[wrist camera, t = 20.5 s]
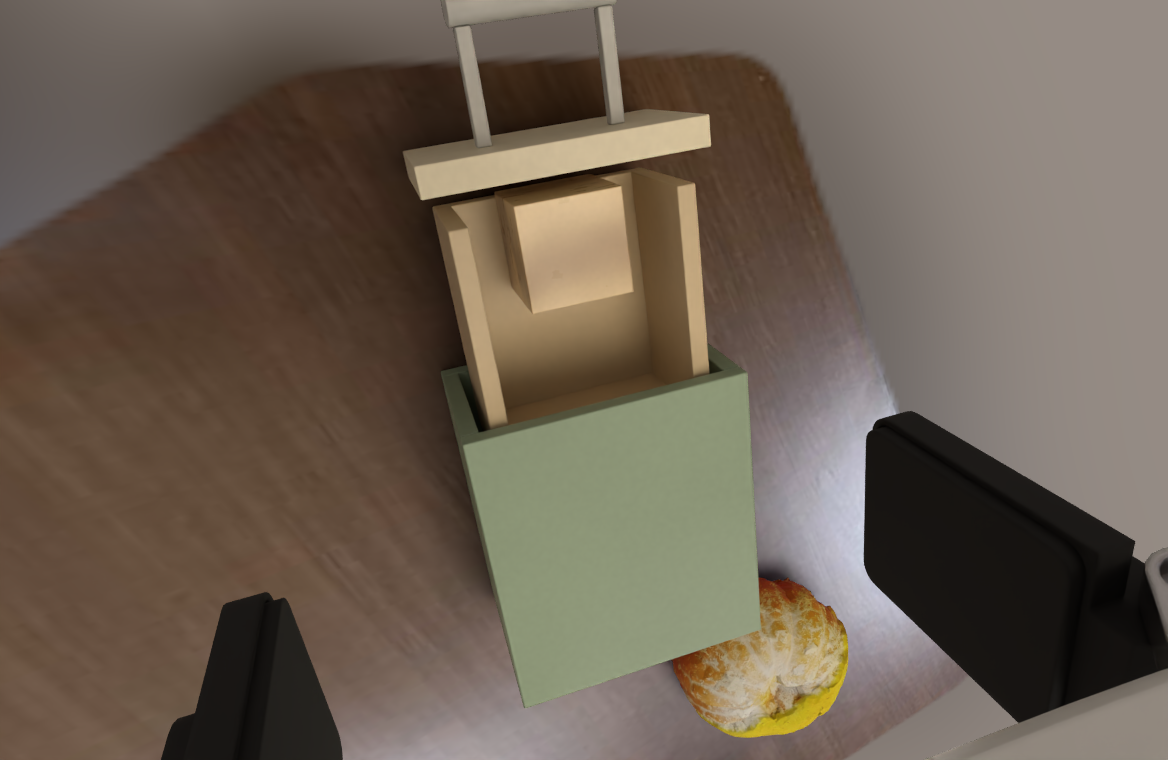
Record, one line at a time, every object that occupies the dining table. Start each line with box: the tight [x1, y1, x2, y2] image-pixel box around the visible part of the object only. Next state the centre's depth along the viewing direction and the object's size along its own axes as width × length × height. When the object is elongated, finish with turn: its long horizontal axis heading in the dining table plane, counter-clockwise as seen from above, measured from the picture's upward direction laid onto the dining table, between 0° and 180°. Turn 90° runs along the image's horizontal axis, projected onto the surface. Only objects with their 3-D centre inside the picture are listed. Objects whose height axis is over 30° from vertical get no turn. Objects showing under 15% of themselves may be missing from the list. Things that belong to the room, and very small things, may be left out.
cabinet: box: [441, 343, 761, 708], centre depth 38 cm, size 15×13×9 cm
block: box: [494, 174, 634, 314], centre depth 32 cm, size 4×4×4 cm
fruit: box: [672, 577, 848, 738], centre depth 47 cm, size 11×10×8 cm
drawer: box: [403, 0, 711, 432], centre depth 32 cm, size 19×11×7 cm, turn 8°
